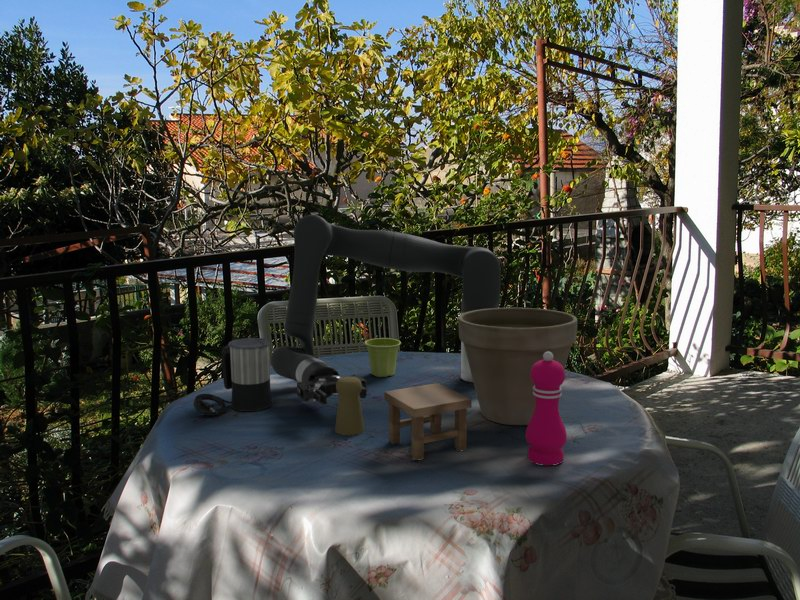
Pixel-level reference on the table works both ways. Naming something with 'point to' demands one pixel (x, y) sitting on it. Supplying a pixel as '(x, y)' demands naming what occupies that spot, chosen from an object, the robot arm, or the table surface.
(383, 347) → the plant pot
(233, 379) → the milk frother
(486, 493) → the table surface
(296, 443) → the table surface
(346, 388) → the cork
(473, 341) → the plant pot
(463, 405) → the footstool
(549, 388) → the pepper mill
